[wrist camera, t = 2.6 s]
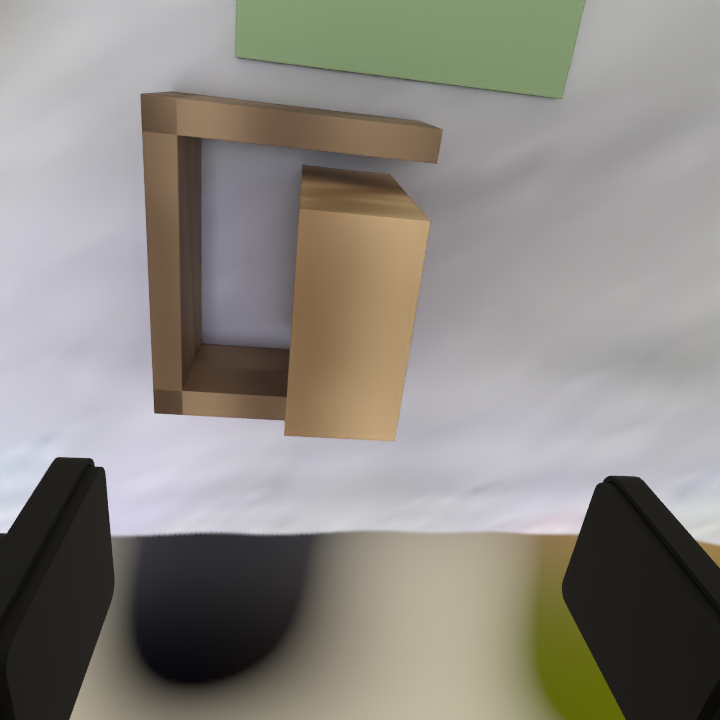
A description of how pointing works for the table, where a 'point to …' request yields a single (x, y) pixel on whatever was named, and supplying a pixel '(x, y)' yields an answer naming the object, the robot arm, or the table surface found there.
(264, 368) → the slot rack
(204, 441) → the table surface
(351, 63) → the green mat
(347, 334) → the block
